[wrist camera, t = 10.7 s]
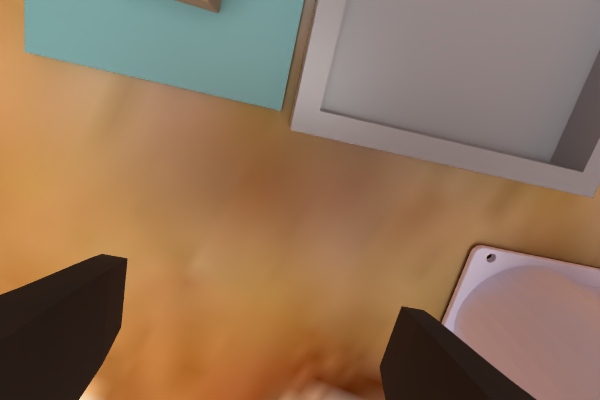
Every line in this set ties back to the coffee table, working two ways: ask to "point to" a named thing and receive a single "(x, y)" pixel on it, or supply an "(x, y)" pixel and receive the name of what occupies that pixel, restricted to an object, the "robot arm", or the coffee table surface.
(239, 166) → the coffee table surface
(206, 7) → the maple block
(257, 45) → the teal board
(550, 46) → the parts bin
